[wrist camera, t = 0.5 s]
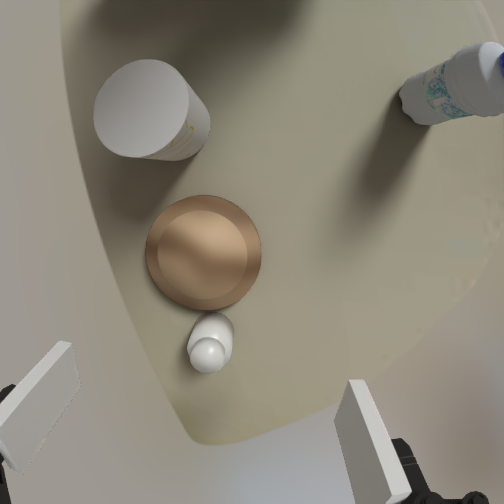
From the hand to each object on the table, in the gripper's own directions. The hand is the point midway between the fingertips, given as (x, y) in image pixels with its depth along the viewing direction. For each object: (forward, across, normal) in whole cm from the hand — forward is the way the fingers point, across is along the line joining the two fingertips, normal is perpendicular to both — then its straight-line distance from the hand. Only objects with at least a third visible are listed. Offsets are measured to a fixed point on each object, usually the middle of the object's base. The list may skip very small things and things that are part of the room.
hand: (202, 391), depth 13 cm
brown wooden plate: (+24, -4, 0) cm, 24 cm away
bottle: (+25, +20, +21) cm, 38 cm away
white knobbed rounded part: (+24, -2, -10) cm, 26 cm away
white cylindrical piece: (+24, -8, +14) cm, 29 cm away
